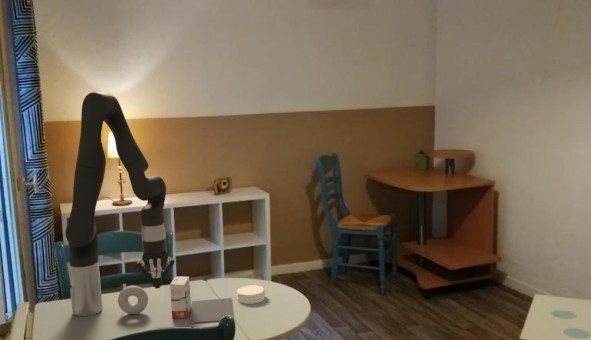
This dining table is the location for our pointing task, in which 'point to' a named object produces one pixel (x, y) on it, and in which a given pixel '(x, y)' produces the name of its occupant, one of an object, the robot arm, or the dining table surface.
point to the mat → (210, 310)
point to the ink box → (180, 297)
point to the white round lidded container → (251, 294)
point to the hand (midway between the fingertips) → (157, 287)
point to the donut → (132, 291)
